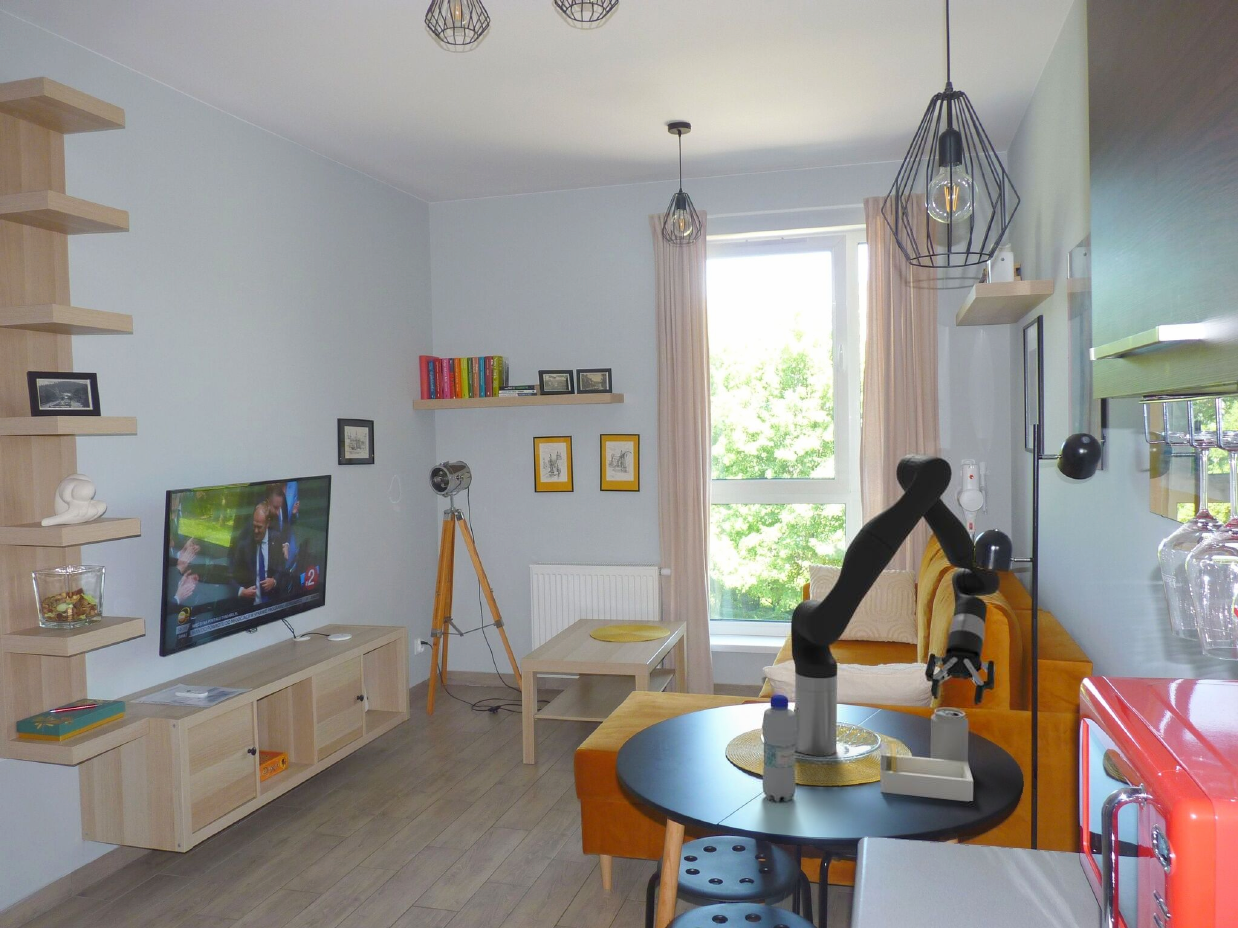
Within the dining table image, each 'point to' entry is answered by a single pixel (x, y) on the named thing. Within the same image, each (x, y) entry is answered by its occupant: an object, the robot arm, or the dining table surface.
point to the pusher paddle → (893, 758)
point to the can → (949, 735)
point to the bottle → (779, 749)
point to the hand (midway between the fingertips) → (955, 700)
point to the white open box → (926, 777)
